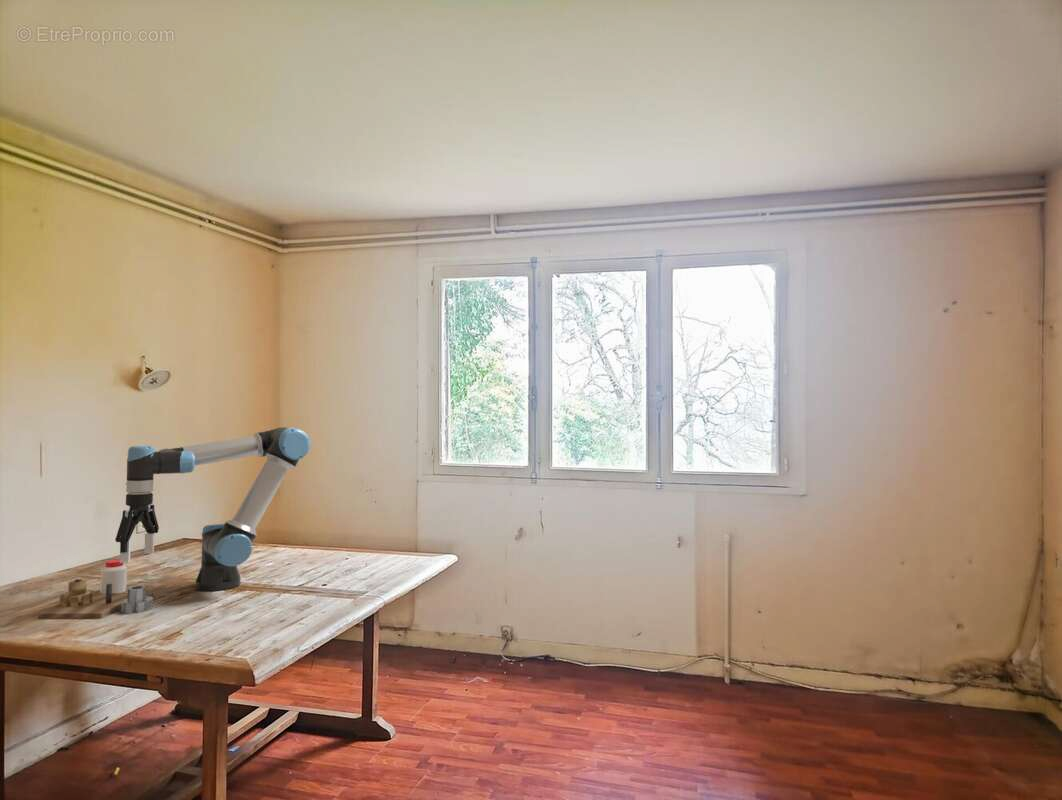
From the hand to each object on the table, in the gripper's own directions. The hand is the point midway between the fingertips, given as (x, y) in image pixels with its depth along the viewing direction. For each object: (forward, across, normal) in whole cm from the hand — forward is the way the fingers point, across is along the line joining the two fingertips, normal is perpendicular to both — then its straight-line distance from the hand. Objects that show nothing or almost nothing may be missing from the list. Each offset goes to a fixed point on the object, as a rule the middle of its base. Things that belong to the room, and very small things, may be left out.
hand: (137, 557), depth 202 cm
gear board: (+17, -2, -15) cm, 22 cm away
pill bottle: (+17, -20, -19) cm, 32 cm away
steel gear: (+17, 0, 0) cm, 17 cm away
